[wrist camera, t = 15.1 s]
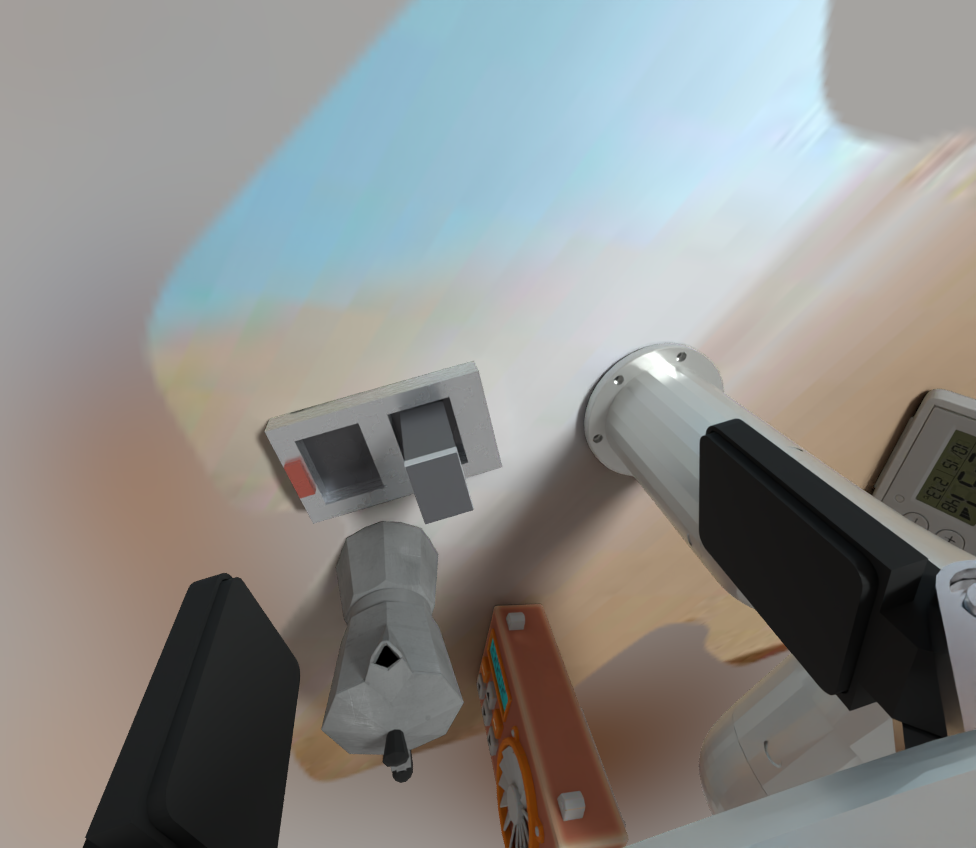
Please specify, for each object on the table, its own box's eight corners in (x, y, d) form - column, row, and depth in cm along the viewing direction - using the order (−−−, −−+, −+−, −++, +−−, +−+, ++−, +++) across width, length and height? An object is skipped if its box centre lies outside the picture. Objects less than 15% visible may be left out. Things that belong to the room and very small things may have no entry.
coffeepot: (324, 507, 42) (297, 714, 27) (435, 494, 44) (469, 682, 29) (348, 630, 50) (337, 847, 35) (442, 615, 52) (472, 815, 36)
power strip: (473, 360, 39) (479, 373, 37) (497, 454, 43) (503, 470, 41) (269, 418, 38) (263, 435, 36) (315, 508, 42) (312, 527, 40)
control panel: (468, 689, 58) (489, 596, 52) (525, 684, 60) (552, 593, 53) (512, 939, 40) (554, 845, 33) (592, 921, 42) (647, 828, 35)
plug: (441, 395, 39) (457, 452, 32) (456, 446, 42) (474, 510, 35) (398, 407, 39) (404, 468, 32) (415, 458, 42) (425, 524, 34)
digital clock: (929, 377, 49) (1055, 429, 40) (988, 392, 52) (1119, 445, 43) (836, 508, 56) (926, 579, 47) (893, 515, 59) (988, 584, 50)
